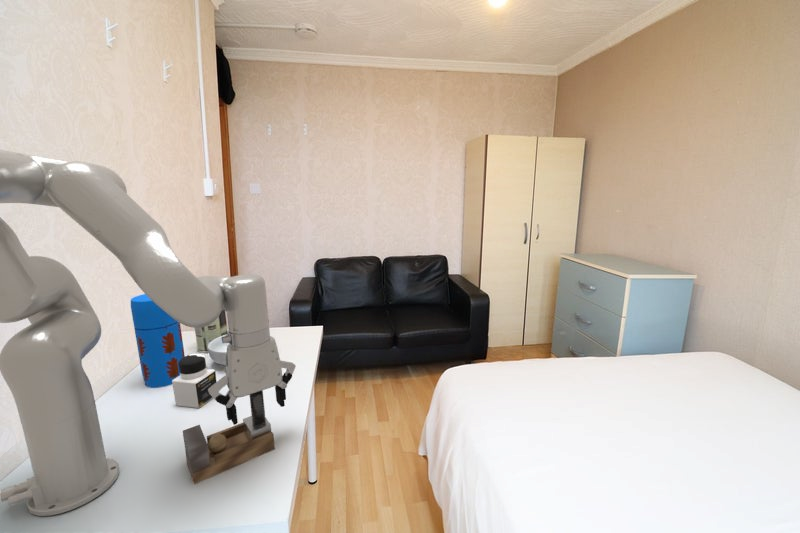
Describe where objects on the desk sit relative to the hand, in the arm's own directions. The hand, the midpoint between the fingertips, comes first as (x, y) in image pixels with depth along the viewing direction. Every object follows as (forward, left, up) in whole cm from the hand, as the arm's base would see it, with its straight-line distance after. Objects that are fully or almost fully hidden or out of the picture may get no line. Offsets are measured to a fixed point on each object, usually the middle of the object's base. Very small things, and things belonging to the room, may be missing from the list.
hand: (258, 412), depth 77 cm
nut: (-8, 0, -5) cm, 10 cm away
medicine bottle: (-8, +28, -7) cm, 30 cm away
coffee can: (+3, +63, -7) cm, 64 cm away
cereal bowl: (+7, +45, -7) cm, 46 cm away
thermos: (-13, +47, -7) cm, 49 cm away
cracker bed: (-6, 0, -7) cm, 9 cm away
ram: (0, 0, -5) cm, 5 cm away
